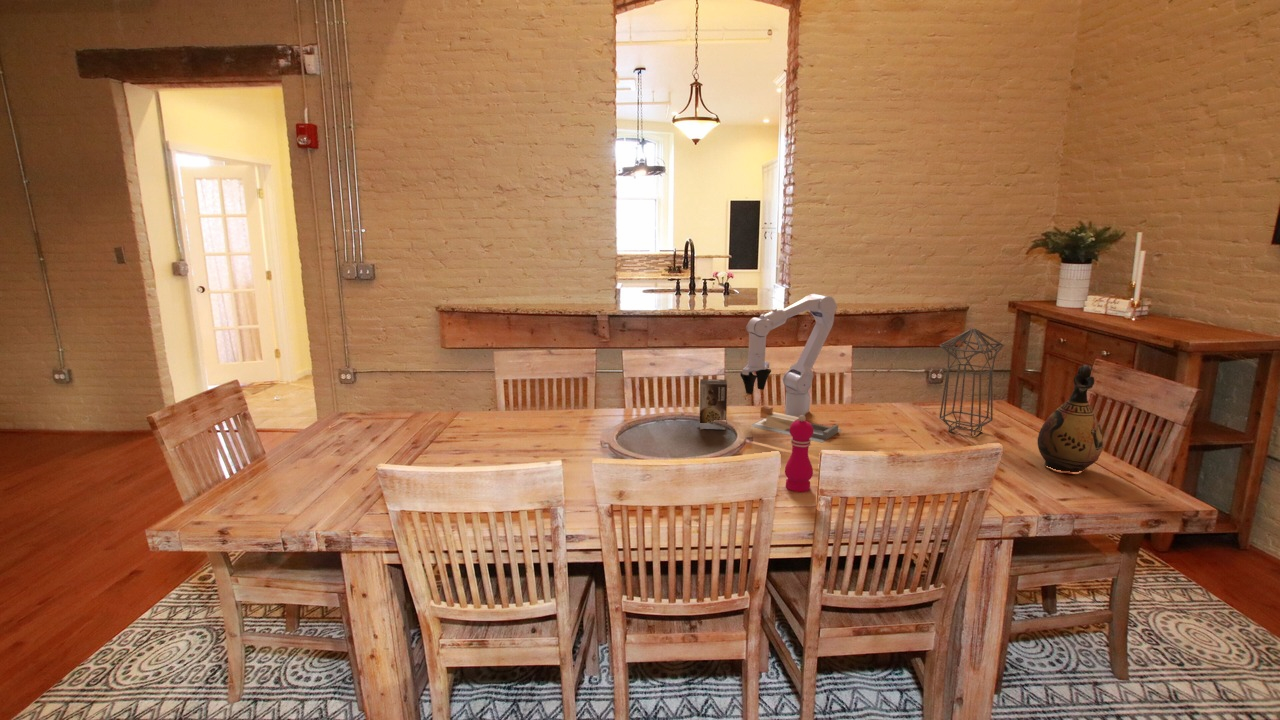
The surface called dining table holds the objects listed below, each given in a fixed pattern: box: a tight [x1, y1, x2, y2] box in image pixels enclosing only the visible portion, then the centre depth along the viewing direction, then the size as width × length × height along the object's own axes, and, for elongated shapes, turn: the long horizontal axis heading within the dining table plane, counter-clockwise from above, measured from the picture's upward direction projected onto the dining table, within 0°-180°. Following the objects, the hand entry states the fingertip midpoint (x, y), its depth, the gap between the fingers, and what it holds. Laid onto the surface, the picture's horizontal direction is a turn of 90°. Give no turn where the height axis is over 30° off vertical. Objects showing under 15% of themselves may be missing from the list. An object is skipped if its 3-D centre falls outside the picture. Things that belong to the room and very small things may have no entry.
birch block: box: [760, 405, 799, 429], centre depth 221 cm, size 5×13×5 cm, turn 52°
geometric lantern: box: [939, 328, 1005, 436], centre depth 214 cm, size 16×16×35 cm
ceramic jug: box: [1037, 364, 1104, 472], centre depth 184 cm, size 17×15×30 cm
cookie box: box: [699, 378, 728, 423], centre depth 219 cm, size 9×6×16 cm
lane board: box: [749, 418, 842, 443], centre depth 218 cm, size 16×26×3 cm, turn 52°
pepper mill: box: [784, 415, 814, 493], centre depth 171 cm, size 7×7×20 cm
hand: (755, 391), depth 226 cm, fingers open, 7 cm apart
